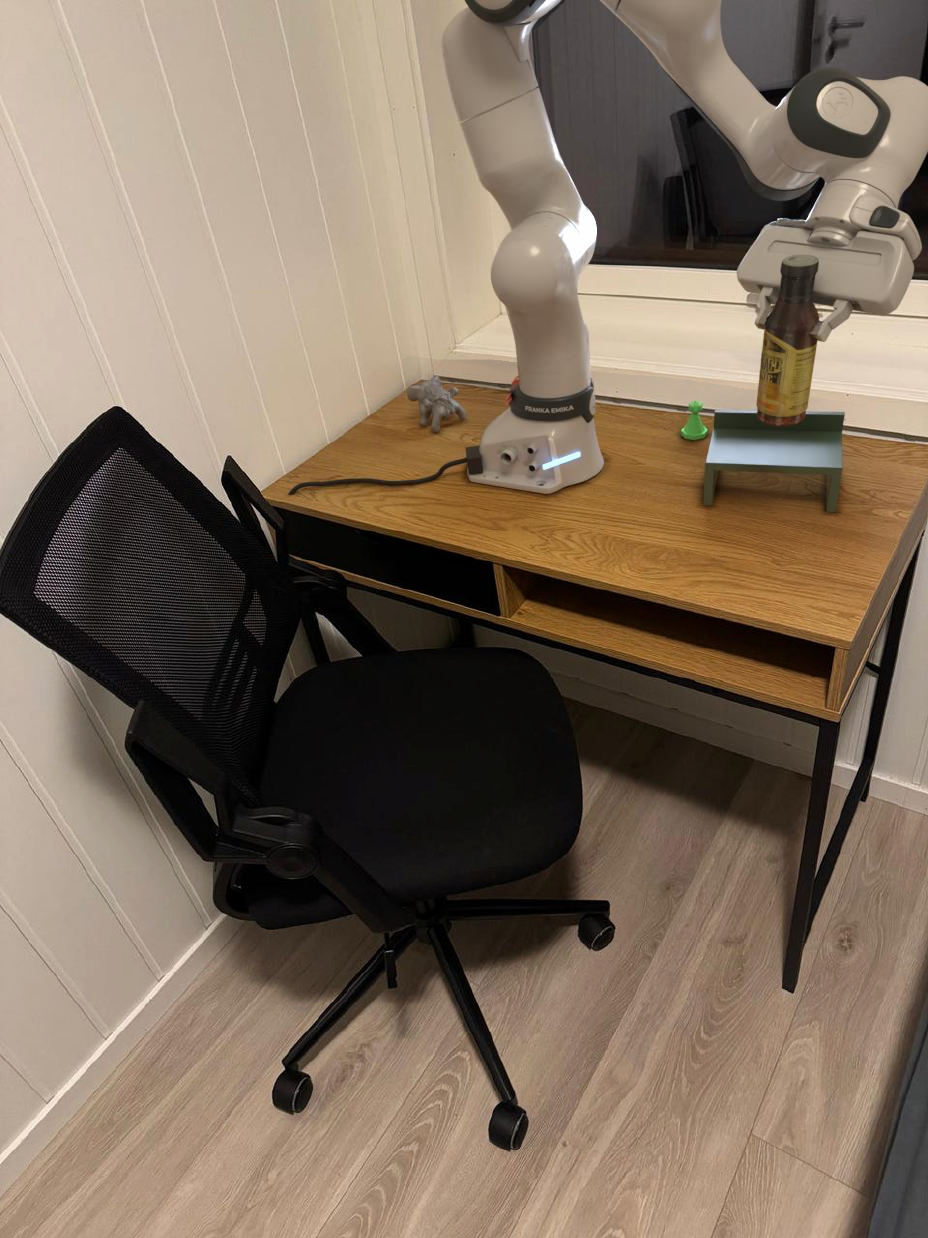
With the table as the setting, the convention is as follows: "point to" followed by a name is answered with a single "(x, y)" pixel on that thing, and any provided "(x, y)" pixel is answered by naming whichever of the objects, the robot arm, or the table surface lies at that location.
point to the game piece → (694, 423)
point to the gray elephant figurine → (435, 402)
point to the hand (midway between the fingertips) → (788, 332)
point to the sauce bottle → (789, 346)
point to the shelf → (776, 448)
